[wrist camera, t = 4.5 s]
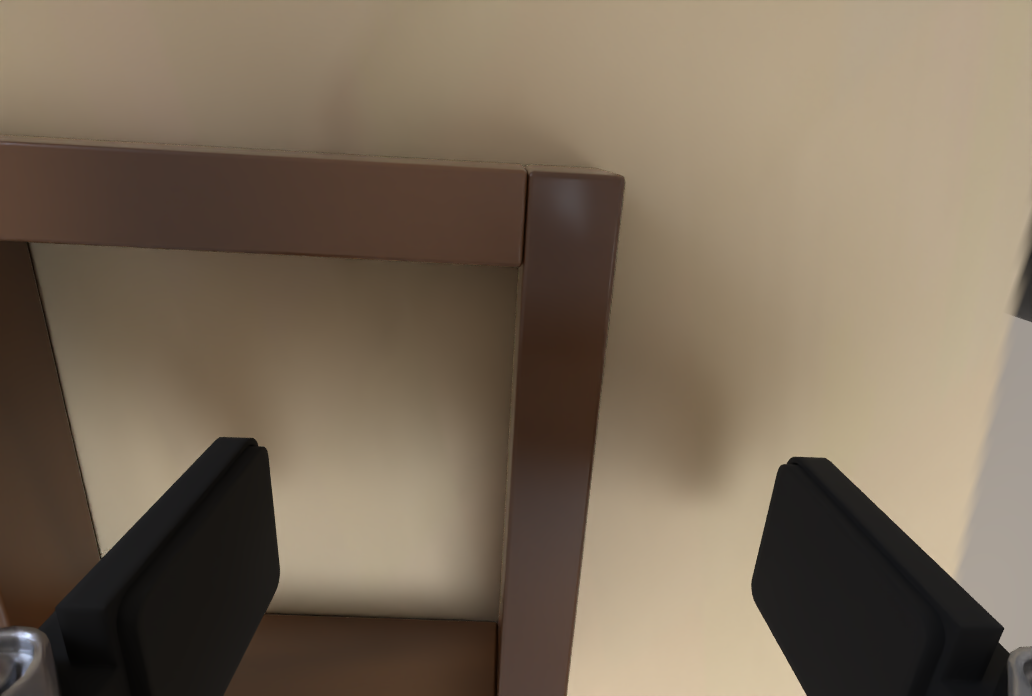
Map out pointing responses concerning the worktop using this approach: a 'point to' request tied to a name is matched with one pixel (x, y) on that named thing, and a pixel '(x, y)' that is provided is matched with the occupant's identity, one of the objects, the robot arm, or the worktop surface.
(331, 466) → the worktop surface
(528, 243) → the walnut frame
